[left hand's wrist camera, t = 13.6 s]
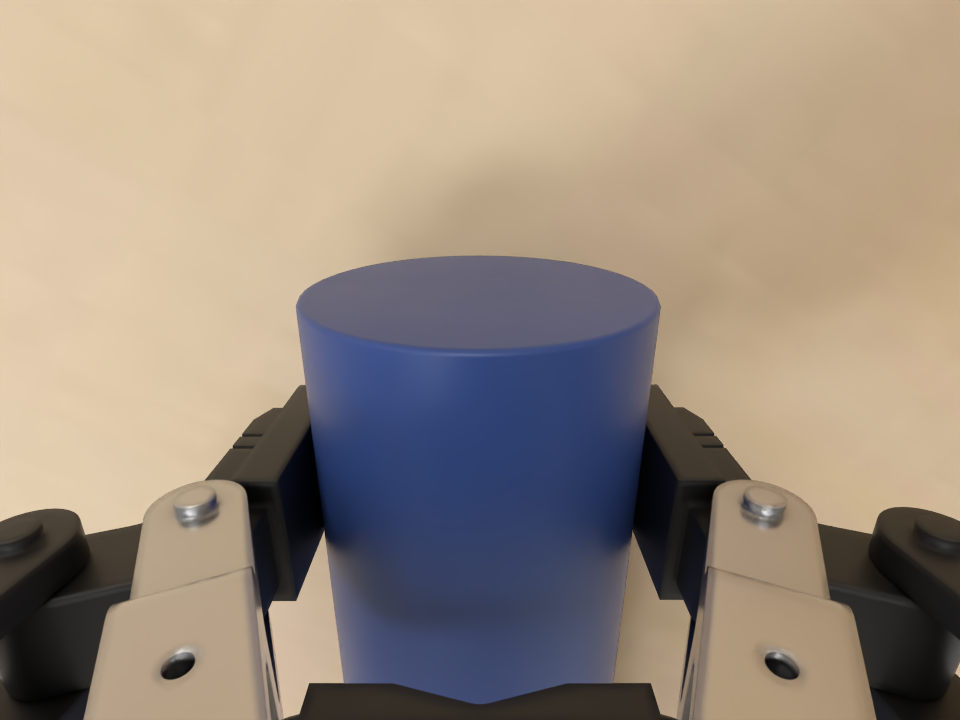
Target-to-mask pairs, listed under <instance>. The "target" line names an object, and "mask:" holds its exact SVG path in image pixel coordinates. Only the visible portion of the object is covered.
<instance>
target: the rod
mask: <svg viewBox="0 0 960 720" xmlns="http://www.w3.org/2000/svg"><path fill="white" fill-rule="evenodd" d="M660 308H661V306H660V303H659V300H658V298H657V296H656V295H655V294H654V292H653V291H652V290H650V289H649V288H648V287H646V286H645V285H643V284H641V283H639V282H637V281H635V280H633V279H631V278H628V277H626V276H623V275H621V274H618V273H614V272H611V271H608V270H604V269H600V268H596V267H592V266H587V265H582V264H576V263H570V262H564V261H556V260H548V259H538V258H526V257H509V256H448V257H431V258H419V259H409V260H401V261H393V262H387V263H381V264H375V265H370V266H365V267H361V268H357V269H353V270H349V271H346V272H343V273H339V274H336V275H334V276H331V277H329V278H326V279H324V280H322V281H320V282H318V283H316V284H314V285H312V286H311V287H309V288H308V289H306V290H305V291H304V292H303V293H302V294H301V295H300V297H299V299H298V302H297V305H296V312H297V320H298V328H299V336H300V343H301V351H302V359H303V367H304V375H305V382H306V390H307V398H308V406H309V413H310V421H311V429H312V437H313V445H314V452H315V460H316V468H317V476H318V484H319V491H320V499H321V507H322V515H323V523H324V530H325V538H326V546H327V554H328V562H329V569H330V577H331V585H332V593H333V601H334V608H335V616H336V624H337V632H338V640H339V647H340V655H341V663H342V671H343V679H344V683H394V684H398V685H402V686H406V687H410V688H413V689H417V690H421V691H425V692H429V693H433V694H437V695H441V696H445V697H449V698H453V699H457V700H460V701H464V702H468V703H473V704H487V703H492V702H496V701H500V700H503V699H507V698H511V697H515V696H519V695H523V694H527V693H531V692H535V691H539V690H543V689H547V688H550V687H554V686H558V685H562V684H566V683H613V680H614V672H615V664H616V656H617V648H618V641H619V633H620V625H621V617H622V609H623V601H624V593H625V585H626V577H627V569H628V561H629V553H630V545H631V538H632V530H633V522H634V514H635V506H636V498H637V490H638V482H639V474H640V466H641V458H642V450H643V443H644V435H645V427H646V419H647V411H648V403H649V395H650V387H651V379H652V371H653V363H654V355H655V347H656V340H657V332H658V324H659V316H660Z"/></svg>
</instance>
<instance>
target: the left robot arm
mask: <svg viewBox="0 0 960 720" xmlns="http://www.w3.org/2000/svg"><path fill="white" fill-rule="evenodd" d="M323 532H324V523H323V515H322V507H321V499H320V491H319V484H318V476H317V468H316V460H315V452H314V445H313V437H312V429H311V421H310V413H309V406H308V398H307V390H306V385H300V386H299V387H298V388H297V389H296V391H295V392H294V393H293V395H292V396H291V398H290V399H289V400H288V402H287V403H286V404H285V406H284V407H283V408H273V409H271V410H269V411H268V412H266V413H264V414H263V415H261V416H259V417H258V418H256V419H254V420H253V421H252V423H251V424H250V425H249V426H248V428H247V429H246V430H245V431H244V433H243V434H242V437H239V439H238V440H237V441H236V442H235V444H234V445H233V449H230V450H229V451H228V452H227V454H226V455H225V456H224V457H223V459H222V460H221V461H220V462H219V463H218V465H217V466H216V467H215V468H214V470H213V471H212V472H211V473H210V475H209V476H208V477H207V478H206V480H205V481H200V482H195V483H191V484H188V485H185V486H182V487H179V488H177V489H175V490H173V491H171V492H169V493H167V494H165V495H164V496H162V497H161V498H159V499H158V500H157V501H155V502H154V503H153V504H152V505H151V506H150V507H149V508H148V510H147V511H146V513H145V515H144V518H143V523H141V524H138V525H133V526H129V527H124V528H119V529H114V530H108V531H103V532H98V533H93V534H88V535H85V533H84V530H83V527H82V524H81V521H80V518H79V516H78V515H77V514H76V513H74V512H72V511H70V510H65V509H44V510H37V511H32V512H28V513H24V514H21V515H17V516H14V517H11V518H9V519H6V520H4V521H1V522H0V720H960V678H959V677H958V676H957V675H956V674H955V672H956V670H957V667H958V665H959V663H960V521H958V520H956V519H953V518H951V517H948V516H945V515H942V514H939V513H936V512H932V511H928V510H924V509H918V508H910V507H895V508H890V509H887V510H884V511H883V512H881V513H880V514H879V516H878V518H877V521H876V524H875V527H874V531H873V534H868V533H863V532H858V531H852V530H847V529H842V528H837V527H832V526H827V525H822V524H818V523H817V518H816V515H815V513H814V511H813V510H812V508H811V507H810V506H809V505H808V504H807V503H806V502H805V501H803V500H802V499H801V498H799V497H798V496H796V495H795V494H793V493H791V492H789V491H787V490H785V489H783V488H781V487H778V486H775V485H772V484H769V483H765V482H760V481H754V480H751V479H750V478H749V476H748V475H747V474H746V473H745V471H744V470H743V469H742V468H741V466H740V465H739V464H738V463H737V461H736V460H735V459H734V458H733V456H732V455H731V454H730V453H729V451H728V450H727V449H726V448H724V447H723V444H722V443H721V441H720V440H719V439H718V438H717V436H714V433H713V431H712V430H711V429H710V428H709V426H708V425H707V424H706V423H705V421H704V420H703V419H701V418H700V417H698V416H697V415H695V414H693V413H692V412H690V411H688V410H687V409H685V408H683V407H673V406H672V404H671V403H670V402H669V400H668V399H667V397H666V396H665V395H664V393H663V392H662V390H661V389H660V388H659V386H658V385H651V387H650V395H649V403H648V411H647V419H646V427H645V435H644V443H643V450H642V458H641V466H640V474H639V482H638V490H637V498H636V506H635V514H634V522H633V532H634V535H635V537H636V540H637V542H638V545H639V547H640V550H641V552H642V555H643V558H644V560H645V563H646V565H647V568H648V570H649V573H650V576H651V578H652V581H653V583H654V586H655V588H656V591H657V593H658V596H659V599H660V600H684V602H685V604H686V606H687V609H688V611H689V613H690V615H691V617H690V622H689V627H688V634H687V642H686V649H685V657H684V665H683V672H682V680H681V688H680V695H679V703H678V711H677V718H676V719H675V718H672V717H669V716H665V715H662V714H660V712H659V708H658V705H657V702H656V699H655V696H654V692H653V689H652V686H651V683H566V684H562V685H558V686H554V687H550V688H547V689H543V690H539V691H535V692H531V693H527V694H523V695H519V696H515V697H511V698H507V699H503V700H500V701H496V702H492V703H487V704H473V703H468V702H464V701H460V700H457V699H453V698H449V697H445V696H441V695H437V694H433V693H429V692H425V691H421V690H417V689H413V688H410V687H406V686H402V685H398V684H394V683H309V686H308V689H307V692H306V696H305V699H304V702H303V705H302V708H301V712H300V714H298V715H295V716H291V717H288V718H285V719H284V718H283V711H282V703H281V695H280V688H279V680H278V672H277V665H276V657H275V649H274V642H273V634H272V627H271V622H270V617H269V611H268V609H269V607H270V605H271V602H272V601H296V600H297V597H298V595H299V592H300V590H301V587H302V585H303V582H304V580H305V577H306V575H307V572H308V570H309V567H310V565H311V562H312V560H313V557H314V555H315V552H316V550H317V547H318V545H319V542H320V540H321V537H322V535H323Z"/></svg>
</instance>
